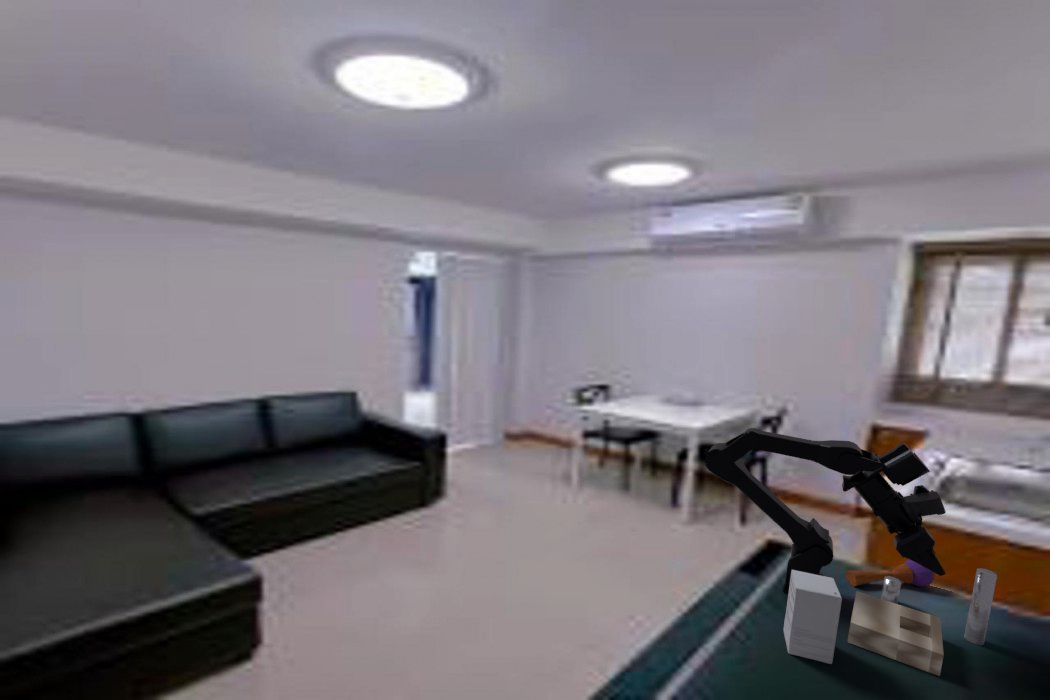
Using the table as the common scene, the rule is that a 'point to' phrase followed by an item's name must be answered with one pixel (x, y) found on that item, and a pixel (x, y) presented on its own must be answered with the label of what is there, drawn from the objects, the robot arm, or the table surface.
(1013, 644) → the table surface
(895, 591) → the short pin
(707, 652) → the table surface
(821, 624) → the supplement box
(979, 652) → the table surface
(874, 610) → the hole block
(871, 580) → the kendama
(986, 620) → the long pin
